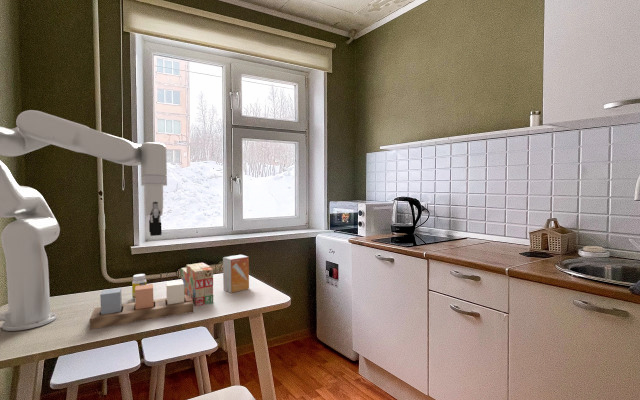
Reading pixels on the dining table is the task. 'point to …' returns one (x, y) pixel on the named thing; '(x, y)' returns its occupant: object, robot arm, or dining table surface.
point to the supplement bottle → (138, 282)
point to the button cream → (175, 292)
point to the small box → (236, 273)
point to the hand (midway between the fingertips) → (155, 233)
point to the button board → (140, 313)
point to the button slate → (111, 301)
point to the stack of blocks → (198, 283)
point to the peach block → (144, 296)
